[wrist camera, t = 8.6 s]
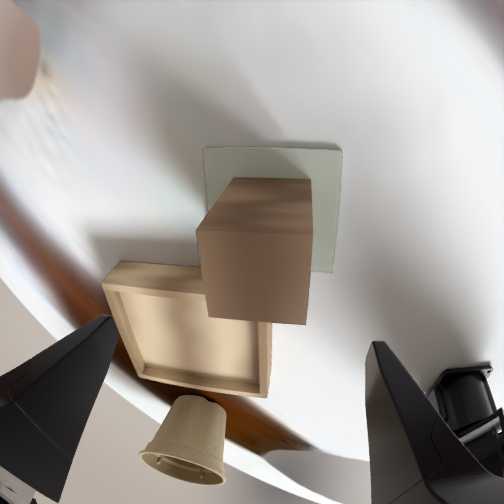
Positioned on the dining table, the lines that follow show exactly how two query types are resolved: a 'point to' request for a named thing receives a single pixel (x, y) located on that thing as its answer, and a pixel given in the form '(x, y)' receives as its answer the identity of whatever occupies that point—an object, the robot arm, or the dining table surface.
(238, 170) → the pad
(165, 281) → the oak box
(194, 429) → the flower pot
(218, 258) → the walnut block
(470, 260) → the dining table surface
